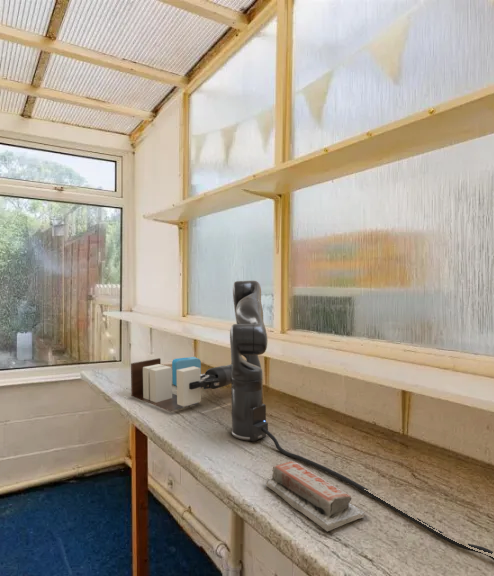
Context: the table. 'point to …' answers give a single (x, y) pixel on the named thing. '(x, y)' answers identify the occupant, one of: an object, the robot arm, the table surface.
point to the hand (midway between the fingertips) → (186, 385)
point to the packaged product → (313, 496)
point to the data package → (183, 366)
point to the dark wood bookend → (138, 386)
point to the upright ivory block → (183, 381)
